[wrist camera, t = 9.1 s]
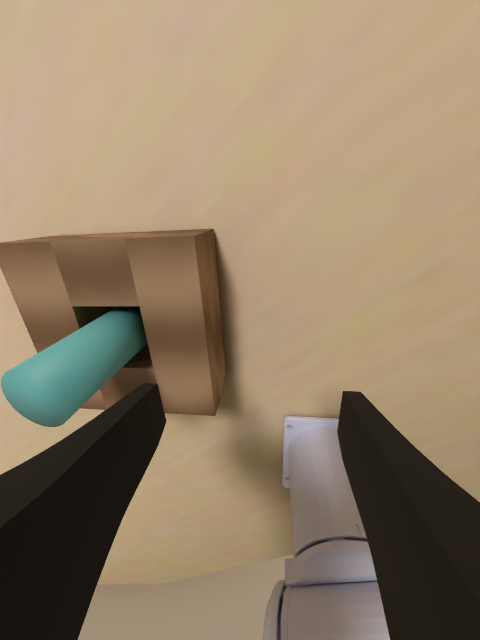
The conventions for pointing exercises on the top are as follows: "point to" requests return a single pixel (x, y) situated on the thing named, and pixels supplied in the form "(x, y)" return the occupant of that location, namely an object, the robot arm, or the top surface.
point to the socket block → (130, 290)
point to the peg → (74, 367)
